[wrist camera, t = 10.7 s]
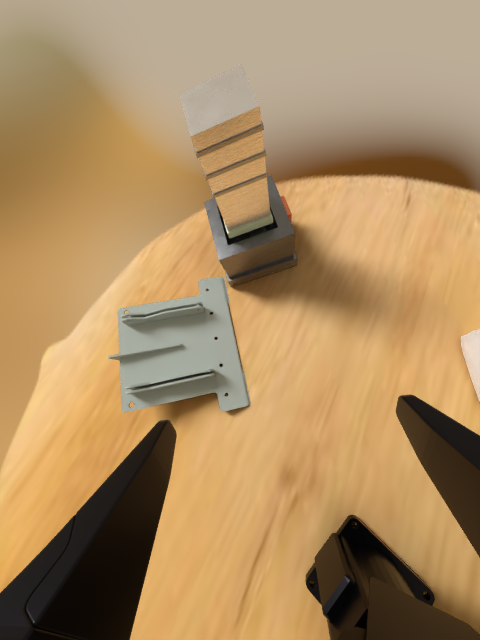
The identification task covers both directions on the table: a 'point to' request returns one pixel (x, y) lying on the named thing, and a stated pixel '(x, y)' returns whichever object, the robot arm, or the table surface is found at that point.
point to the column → (230, 148)
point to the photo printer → (472, 357)
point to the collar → (255, 242)
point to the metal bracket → (180, 351)
